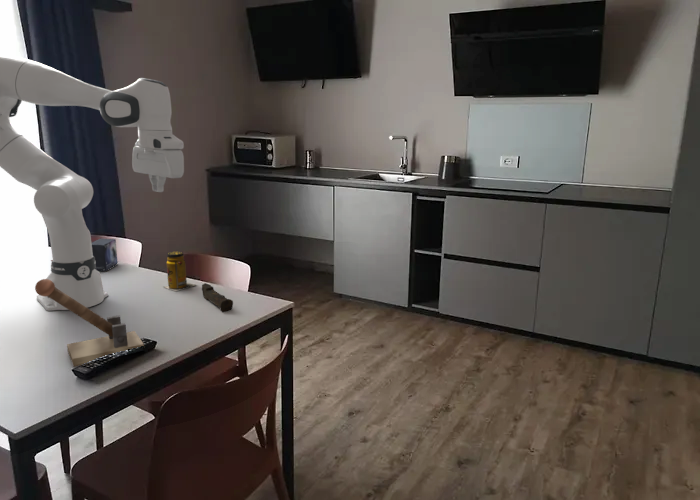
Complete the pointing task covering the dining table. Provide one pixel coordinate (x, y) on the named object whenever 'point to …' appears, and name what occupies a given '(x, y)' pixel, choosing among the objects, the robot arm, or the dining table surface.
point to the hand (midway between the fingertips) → (158, 191)
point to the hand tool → (217, 298)
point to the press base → (104, 343)
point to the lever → (72, 305)
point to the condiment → (176, 272)
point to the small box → (104, 253)
